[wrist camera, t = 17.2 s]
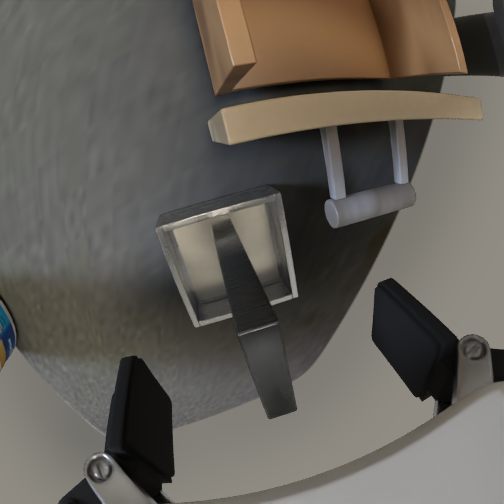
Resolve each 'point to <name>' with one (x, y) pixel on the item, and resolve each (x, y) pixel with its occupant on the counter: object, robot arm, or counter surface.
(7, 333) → the beverage bottle
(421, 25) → the drawer
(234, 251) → the silver open box
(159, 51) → the counter surface
